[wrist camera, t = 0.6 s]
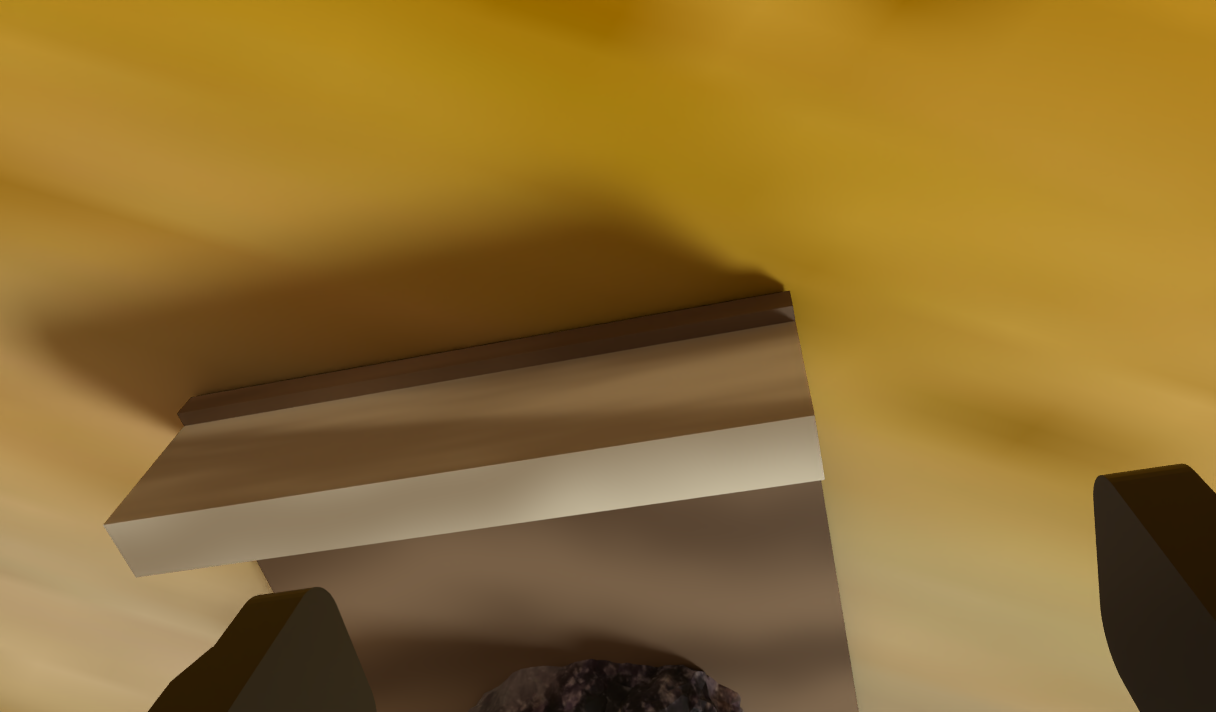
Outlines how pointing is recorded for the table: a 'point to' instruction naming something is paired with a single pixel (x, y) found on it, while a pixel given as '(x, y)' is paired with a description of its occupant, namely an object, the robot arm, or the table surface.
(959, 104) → the table surface
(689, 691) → the black rock
